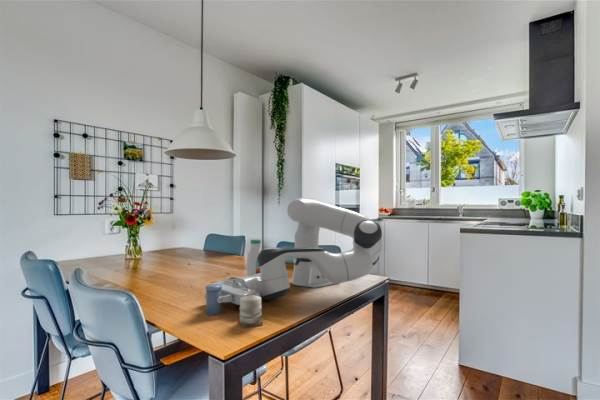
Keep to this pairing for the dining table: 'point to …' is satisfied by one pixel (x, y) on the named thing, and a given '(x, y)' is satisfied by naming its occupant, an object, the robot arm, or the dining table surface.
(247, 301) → the stand
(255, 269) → the milk bottle
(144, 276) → the dining table surface
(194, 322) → the dining table surface
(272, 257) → the robot arm
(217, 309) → the blue canister
